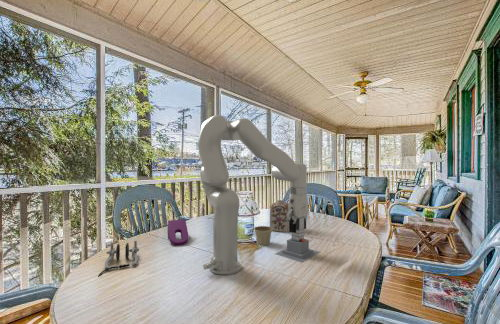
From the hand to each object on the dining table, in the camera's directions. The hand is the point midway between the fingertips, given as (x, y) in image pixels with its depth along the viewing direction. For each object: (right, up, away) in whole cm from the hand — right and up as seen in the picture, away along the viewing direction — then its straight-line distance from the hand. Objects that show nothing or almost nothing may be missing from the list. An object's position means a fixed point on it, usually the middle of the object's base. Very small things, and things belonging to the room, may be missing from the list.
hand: (297, 230), depth 115 cm
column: (0, -9, 0) cm, 9 cm away
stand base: (0, -11, 0) cm, 11 cm away
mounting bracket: (-60, -12, +22) cm, 65 cm away
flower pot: (-15, -12, +13) cm, 23 cm away
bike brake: (-74, -12, -10) cm, 76 cm away
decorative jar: (-2, -11, +44) cm, 45 cm away
